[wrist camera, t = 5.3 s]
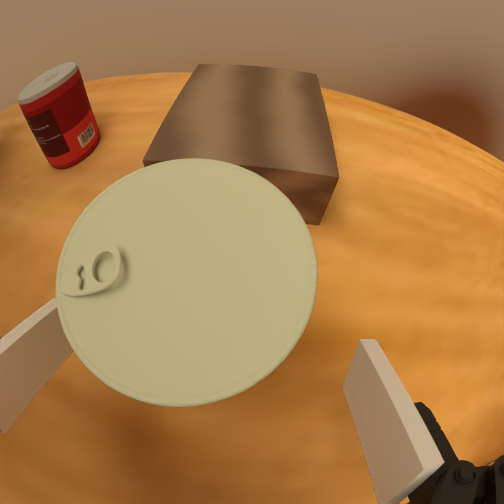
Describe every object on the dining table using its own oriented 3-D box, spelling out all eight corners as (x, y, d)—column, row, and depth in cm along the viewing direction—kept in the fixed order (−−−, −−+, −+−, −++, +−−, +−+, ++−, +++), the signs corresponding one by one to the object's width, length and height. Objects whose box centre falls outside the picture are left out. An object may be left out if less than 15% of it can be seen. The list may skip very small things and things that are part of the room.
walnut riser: (159, 209, 23) (142, 160, 18) (201, 103, 32) (198, 64, 27) (318, 225, 23) (339, 177, 18) (308, 112, 32) (316, 74, 27)
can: (135, 290, 20) (55, 185, 9) (249, 259, 21) (263, 130, 11) (163, 410, 16) (63, 427, 5) (292, 374, 17) (373, 345, 7)
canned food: (100, 122, 30) (79, 55, 20) (102, 154, 27) (74, 74, 17) (52, 144, 28) (25, 82, 19) (48, 180, 25) (9, 110, 15)
